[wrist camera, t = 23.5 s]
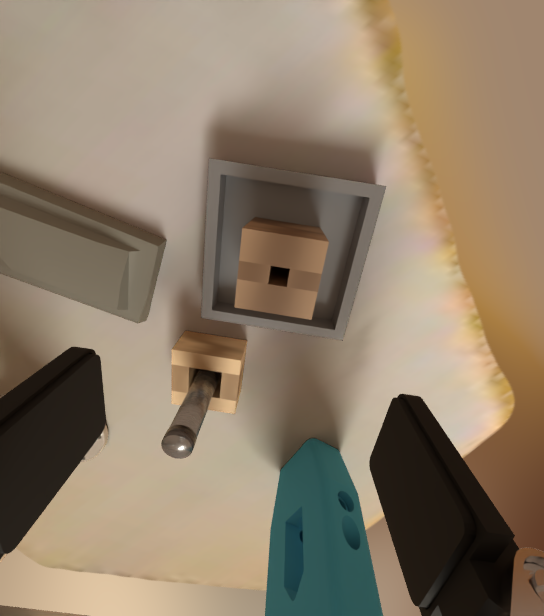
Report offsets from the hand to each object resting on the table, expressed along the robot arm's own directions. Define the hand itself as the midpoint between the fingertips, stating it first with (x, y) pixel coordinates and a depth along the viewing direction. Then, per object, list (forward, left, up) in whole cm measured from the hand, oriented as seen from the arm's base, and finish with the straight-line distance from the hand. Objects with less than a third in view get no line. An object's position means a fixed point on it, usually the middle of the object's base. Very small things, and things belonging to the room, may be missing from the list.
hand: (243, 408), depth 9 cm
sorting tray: (+1, +1, -21) cm, 21 cm away
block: (+9, -27, -21) cm, 35 cm away
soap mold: (-22, -2, -22) cm, 31 cm away
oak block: (-5, -13, -21) cm, 25 cm away
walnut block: (0, +1, -20) cm, 20 cm away
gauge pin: (-5, -13, -21) cm, 25 cm away
